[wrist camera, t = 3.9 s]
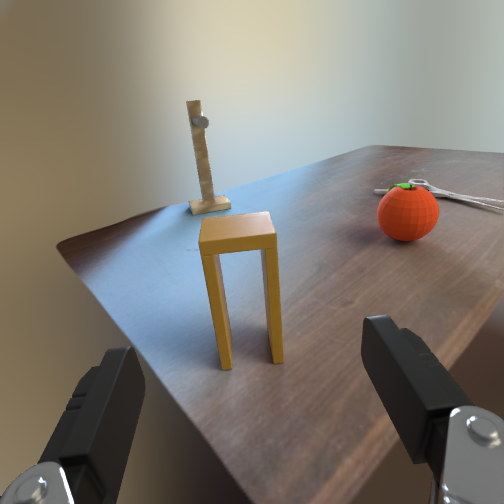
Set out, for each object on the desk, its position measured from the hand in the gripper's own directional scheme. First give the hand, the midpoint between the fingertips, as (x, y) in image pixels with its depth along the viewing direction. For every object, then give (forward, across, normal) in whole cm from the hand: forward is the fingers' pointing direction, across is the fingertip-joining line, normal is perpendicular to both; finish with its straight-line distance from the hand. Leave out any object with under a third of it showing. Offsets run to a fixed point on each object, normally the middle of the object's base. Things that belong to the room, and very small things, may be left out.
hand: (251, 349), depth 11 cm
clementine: (+28, -21, +11) cm, 37 cm away
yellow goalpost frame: (+11, 0, +11) cm, 16 cm away
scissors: (+40, -34, +11) cm, 54 cm away
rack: (+46, +5, +10) cm, 47 cm away
